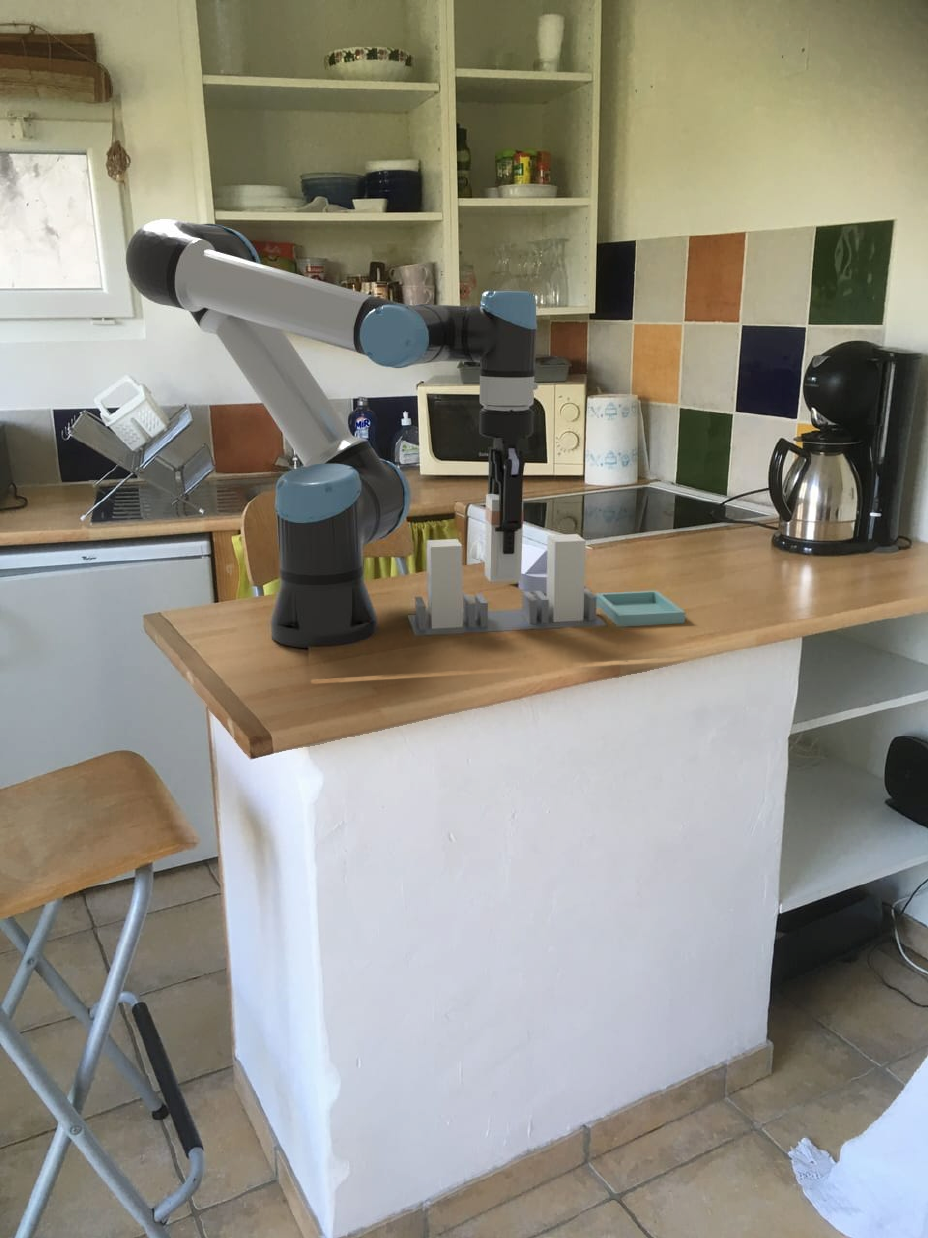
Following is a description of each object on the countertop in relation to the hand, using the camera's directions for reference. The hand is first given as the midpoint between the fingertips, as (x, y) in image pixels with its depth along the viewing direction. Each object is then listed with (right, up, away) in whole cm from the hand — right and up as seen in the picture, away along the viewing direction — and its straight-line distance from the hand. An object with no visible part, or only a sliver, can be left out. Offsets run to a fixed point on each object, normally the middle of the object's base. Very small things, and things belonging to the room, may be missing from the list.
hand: (502, 569), depth 148 cm
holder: (0, -8, +2) cm, 8 cm away
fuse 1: (-8, -8, +1) cm, 11 cm away
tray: (+21, -7, +5) cm, 22 cm away
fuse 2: (+9, -7, +4) cm, 12 cm away
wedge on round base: (+7, -2, +22) cm, 23 cm away
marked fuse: (0, -1, 0) cm, 1 cm away
